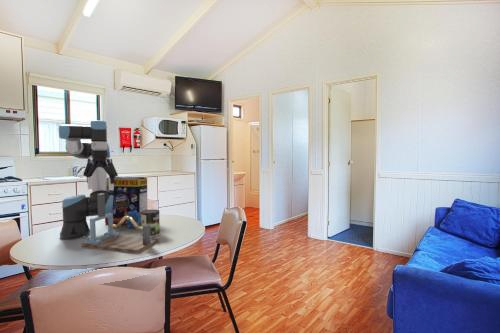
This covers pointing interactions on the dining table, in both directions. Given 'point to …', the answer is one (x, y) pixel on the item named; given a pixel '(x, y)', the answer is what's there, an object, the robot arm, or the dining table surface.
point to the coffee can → (151, 221)
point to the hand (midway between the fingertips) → (100, 189)
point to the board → (122, 244)
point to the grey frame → (100, 216)
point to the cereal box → (128, 197)
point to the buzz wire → (144, 229)
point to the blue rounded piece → (135, 217)
